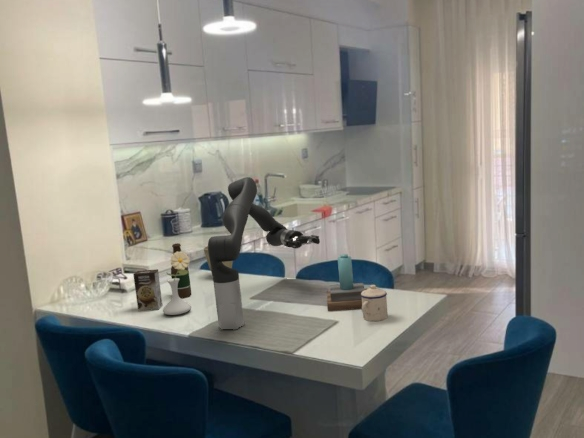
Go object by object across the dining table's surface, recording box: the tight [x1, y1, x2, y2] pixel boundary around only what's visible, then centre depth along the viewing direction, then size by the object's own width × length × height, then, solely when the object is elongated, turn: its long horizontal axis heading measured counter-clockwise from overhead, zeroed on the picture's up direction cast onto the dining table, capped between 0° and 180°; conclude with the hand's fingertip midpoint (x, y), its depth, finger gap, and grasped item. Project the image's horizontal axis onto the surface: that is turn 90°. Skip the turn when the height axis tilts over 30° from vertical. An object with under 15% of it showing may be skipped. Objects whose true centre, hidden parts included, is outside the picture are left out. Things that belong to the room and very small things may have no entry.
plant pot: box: [203, 245, 234, 273], centre depth 274 cm, size 15×15×16 cm
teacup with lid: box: [361, 284, 389, 322], centre depth 193 cm, size 12×9×12 cm
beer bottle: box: [170, 243, 192, 300], centre depth 246 cm, size 8×8×24 cm
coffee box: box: [133, 268, 163, 312], centre depth 233 cm, size 9×6×16 cm
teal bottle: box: [337, 253, 354, 290], centre depth 213 cm, size 5×5×13 cm
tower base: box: [326, 282, 368, 312], centre depth 214 cm, size 16×16×6 cm
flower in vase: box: [162, 250, 192, 316], centre depth 222 cm, size 13×11×25 cm
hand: (309, 242), depth 224 cm, fingers open, 8 cm apart
